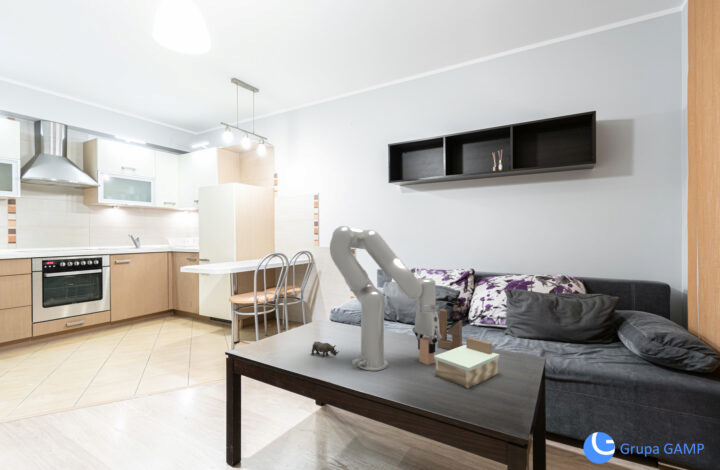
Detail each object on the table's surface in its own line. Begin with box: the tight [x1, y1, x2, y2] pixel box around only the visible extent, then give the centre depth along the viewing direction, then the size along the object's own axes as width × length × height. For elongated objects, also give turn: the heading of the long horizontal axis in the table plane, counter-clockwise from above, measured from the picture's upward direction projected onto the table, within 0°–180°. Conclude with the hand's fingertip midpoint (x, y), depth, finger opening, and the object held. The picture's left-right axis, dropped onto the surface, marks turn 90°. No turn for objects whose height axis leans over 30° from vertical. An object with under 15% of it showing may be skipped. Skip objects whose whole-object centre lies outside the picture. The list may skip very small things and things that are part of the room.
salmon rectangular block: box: [419, 336, 435, 366], centre depth 138 cm, size 4×4×10 cm
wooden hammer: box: [437, 308, 463, 351], centre depth 155 cm, size 4×11×18 cm, turn 51°
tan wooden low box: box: [435, 358, 499, 389], centre depth 125 cm, size 20×14×6 cm
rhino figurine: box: [310, 341, 340, 358], centre depth 145 cm, size 4×14×6 cm, turn 66°
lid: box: [434, 336, 500, 371], centre depth 125 cm, size 21×15×5 cm
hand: (426, 350), depth 138 cm, fingers open, 5 cm apart
